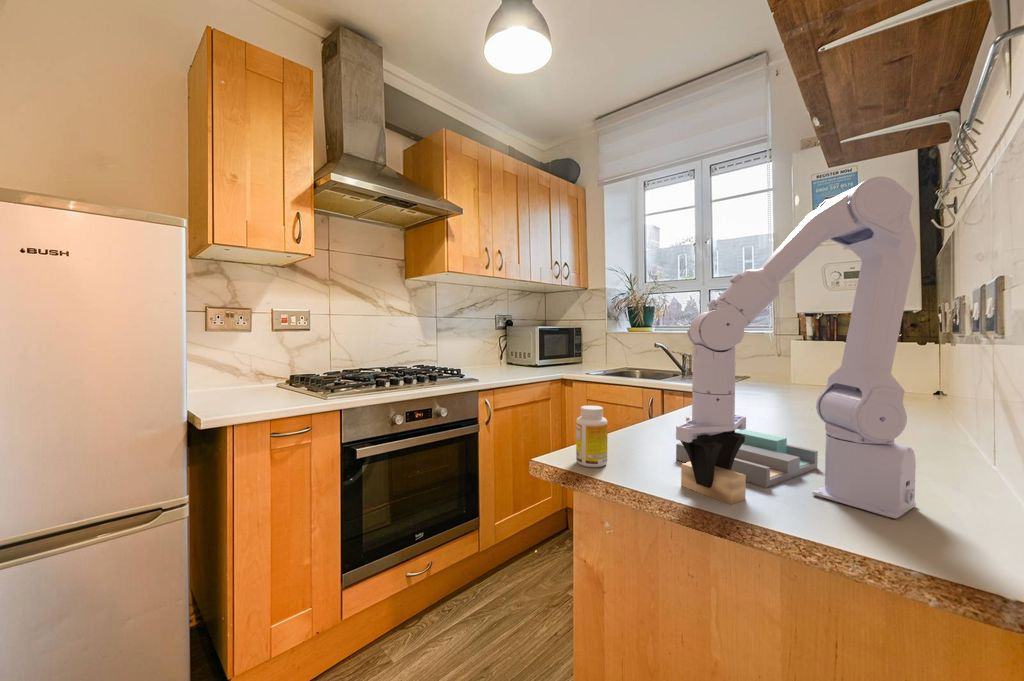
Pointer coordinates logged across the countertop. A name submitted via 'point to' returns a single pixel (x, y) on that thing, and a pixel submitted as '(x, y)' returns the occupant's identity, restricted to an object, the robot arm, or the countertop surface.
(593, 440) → the supplement bottle
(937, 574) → the countertop surface
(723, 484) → the oak stick
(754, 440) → the teal stick
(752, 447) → the rack
